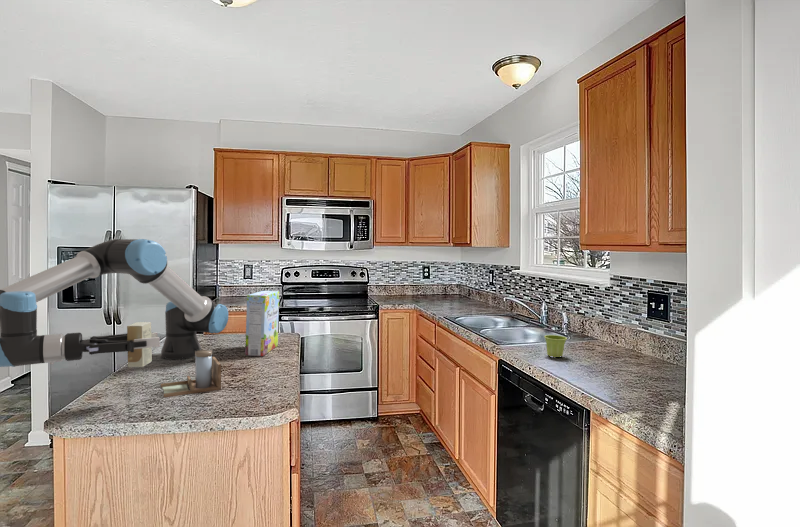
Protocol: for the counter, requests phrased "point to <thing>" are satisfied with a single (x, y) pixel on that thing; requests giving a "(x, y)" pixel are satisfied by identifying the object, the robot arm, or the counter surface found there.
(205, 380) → the spice jar
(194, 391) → the rack
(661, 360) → the counter surface
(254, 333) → the snack box
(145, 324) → the skincare box
